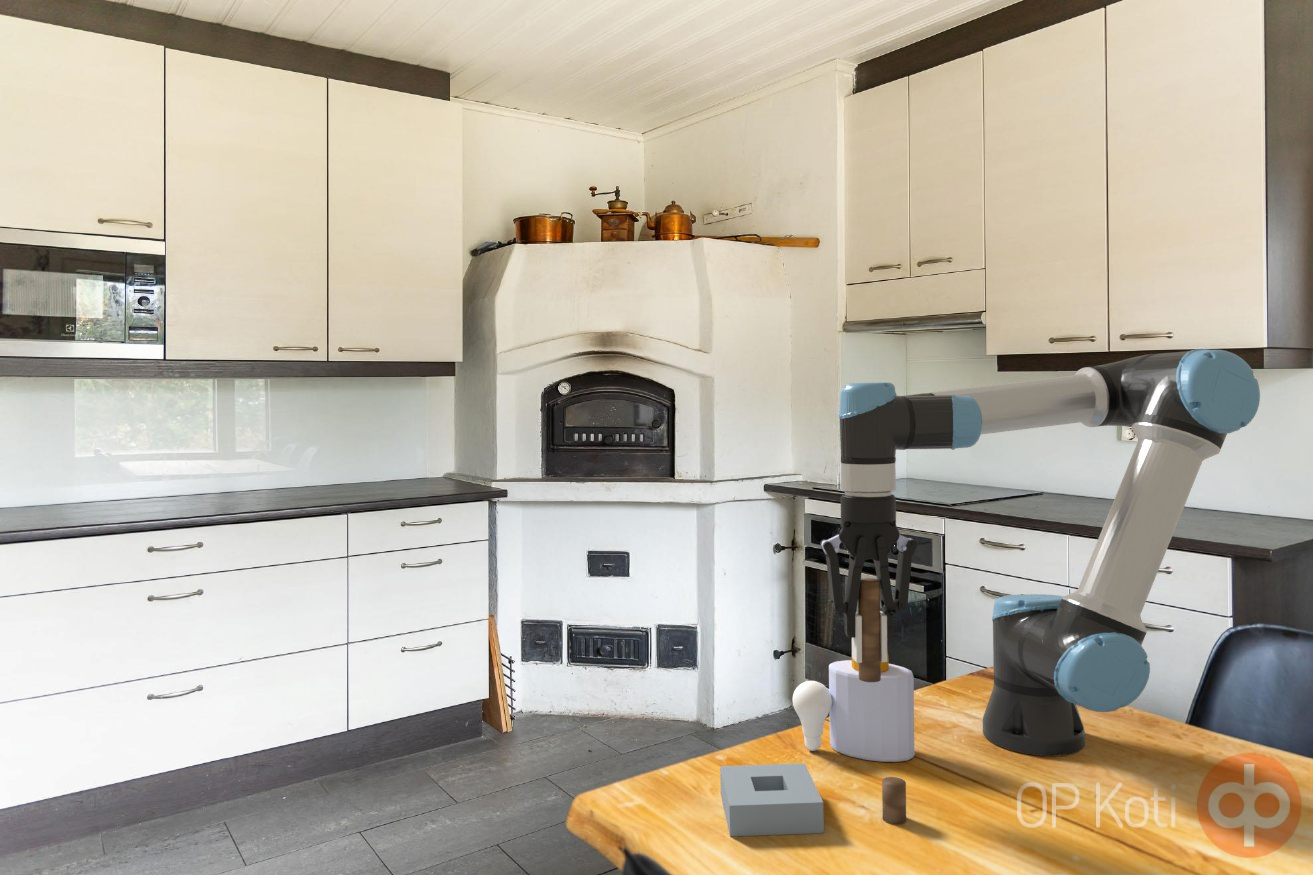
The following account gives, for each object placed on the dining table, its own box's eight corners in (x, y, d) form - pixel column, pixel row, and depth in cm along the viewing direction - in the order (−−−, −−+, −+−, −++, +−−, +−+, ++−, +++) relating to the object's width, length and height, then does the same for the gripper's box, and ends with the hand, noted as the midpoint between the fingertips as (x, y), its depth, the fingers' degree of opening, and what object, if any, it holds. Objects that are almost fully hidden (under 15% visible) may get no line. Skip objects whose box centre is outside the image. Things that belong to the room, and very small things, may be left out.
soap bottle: (919, 748, 137) (918, 620, 136) (909, 768, 130) (907, 633, 129) (837, 735, 143) (835, 613, 142) (822, 753, 136) (820, 625, 135)
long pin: (877, 675, 124) (876, 577, 123) (883, 681, 121) (882, 582, 120) (856, 675, 124) (855, 578, 123) (861, 682, 121) (861, 582, 120)
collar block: (805, 790, 123) (804, 763, 123) (823, 832, 111) (823, 802, 111) (720, 793, 123) (720, 765, 123) (730, 836, 111) (729, 805, 111)
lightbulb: (832, 759, 134) (831, 688, 133) (792, 757, 135) (791, 687, 134) (832, 743, 140) (831, 676, 139) (794, 741, 141) (793, 674, 140)
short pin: (902, 813, 116) (901, 776, 116) (909, 824, 113) (908, 786, 113) (879, 813, 116) (879, 777, 116) (886, 824, 113) (885, 787, 113)
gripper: (915, 489, 125) (916, 650, 126) (806, 491, 125) (807, 653, 126) (933, 494, 118) (934, 666, 119) (816, 497, 118) (818, 669, 119)
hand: (869, 659), depth 122 cm, fingers closed on long pin, 3 cm apart
